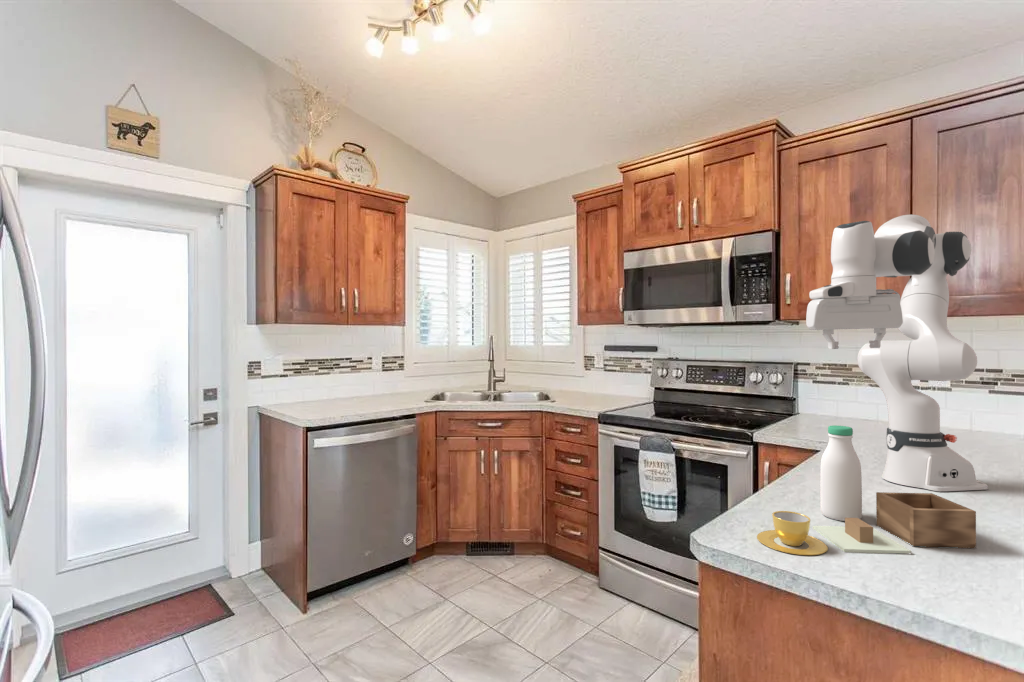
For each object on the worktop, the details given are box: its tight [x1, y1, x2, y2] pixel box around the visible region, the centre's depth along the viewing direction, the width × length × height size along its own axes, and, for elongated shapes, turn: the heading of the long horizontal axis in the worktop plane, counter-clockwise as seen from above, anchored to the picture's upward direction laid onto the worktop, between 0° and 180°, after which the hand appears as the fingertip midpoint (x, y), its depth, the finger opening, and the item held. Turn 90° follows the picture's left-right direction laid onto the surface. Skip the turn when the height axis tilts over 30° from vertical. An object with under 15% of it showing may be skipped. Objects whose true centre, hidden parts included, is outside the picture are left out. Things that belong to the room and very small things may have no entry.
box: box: [875, 491, 977, 549], centre depth 100 cm, size 11×11×7 cm
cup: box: [756, 510, 829, 556], centre depth 97 cm, size 12×12×5 cm
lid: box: [812, 518, 912, 554], centre depth 98 cm, size 12×12×4 cm
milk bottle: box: [819, 425, 863, 522], centre depth 111 cm, size 8×8×20 cm
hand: (854, 348), depth 118 cm, fingers open, 8 cm apart
